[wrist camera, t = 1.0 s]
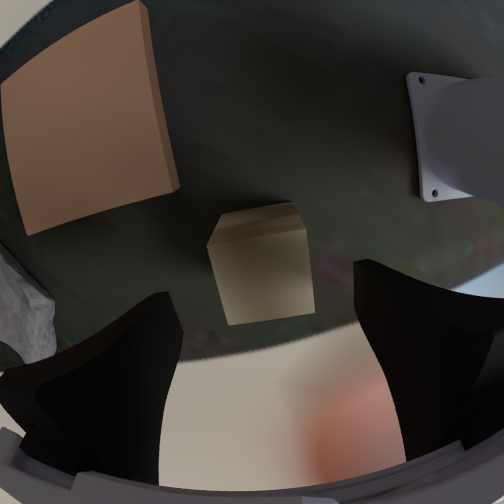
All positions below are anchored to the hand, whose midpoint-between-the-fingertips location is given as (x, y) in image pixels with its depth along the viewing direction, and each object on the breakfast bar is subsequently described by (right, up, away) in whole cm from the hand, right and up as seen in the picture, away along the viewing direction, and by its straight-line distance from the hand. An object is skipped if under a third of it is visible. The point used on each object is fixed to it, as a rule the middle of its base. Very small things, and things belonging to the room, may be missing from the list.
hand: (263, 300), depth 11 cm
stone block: (-23, -2, +9) cm, 24 cm away
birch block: (0, +2, +6) cm, 7 cm away
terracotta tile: (-11, +10, +4) cm, 16 cm away
